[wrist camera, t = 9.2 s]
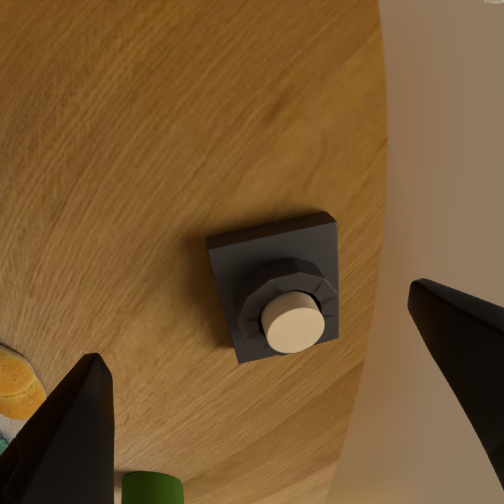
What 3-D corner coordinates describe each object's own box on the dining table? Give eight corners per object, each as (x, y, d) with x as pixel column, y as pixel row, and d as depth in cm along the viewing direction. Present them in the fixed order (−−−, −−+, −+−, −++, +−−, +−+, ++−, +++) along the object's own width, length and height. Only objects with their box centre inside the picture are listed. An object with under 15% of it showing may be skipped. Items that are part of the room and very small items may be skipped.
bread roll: (20, 337, 21) (4, 370, 18) (59, 402, 26) (51, 434, 22) (-39, 336, 20) (-55, 363, 17) (1, 397, 24) (-9, 424, 21)
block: (326, 211, 21) (349, 233, 18) (331, 324, 26) (347, 353, 23) (205, 237, 20) (209, 265, 17) (235, 348, 25) (242, 381, 22)
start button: (314, 284, 20) (324, 301, 18) (316, 327, 21) (325, 344, 20) (256, 298, 19) (262, 316, 18) (264, 340, 21) (270, 359, 20)
